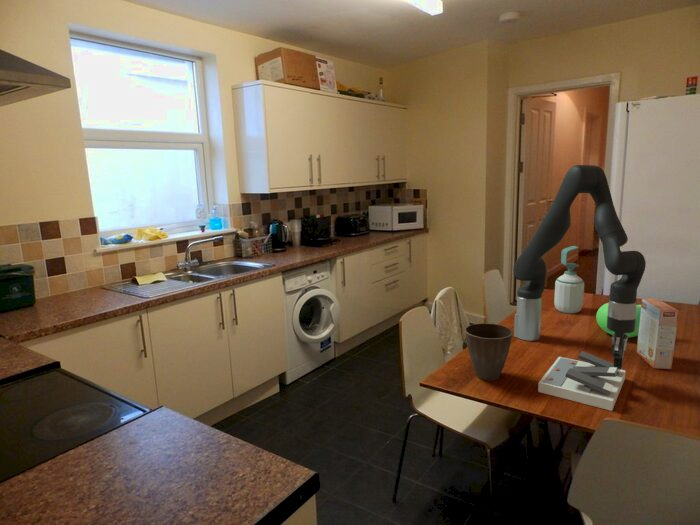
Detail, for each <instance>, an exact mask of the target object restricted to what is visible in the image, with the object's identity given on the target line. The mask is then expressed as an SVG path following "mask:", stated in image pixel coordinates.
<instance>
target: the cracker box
mask: <svg viewBox="0 0 700 525" xmlns="http://www.w3.org/2000/svg"><path fill="white" fill-rule="evenodd" d="M640 305H641V315H640V324H639V334H638V336H637V344H636V354H637V355H638V356H639V357H640V358H642V359H643V360H644V361H645V362H646V363H647V364H648V365H649V366H650V367H651V368H652V369H655V370H656V369H658V370H672V367H673V360H674V353H675V344H676V337H677V336H676V335H677V328H678V319H679V312H680V311H679V310H678V309H677V308H675V307H673V306H671V305H669V304H668V303H666V302H664V300H661V299H657V298H642V299H641V304H640Z"/></svg>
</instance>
